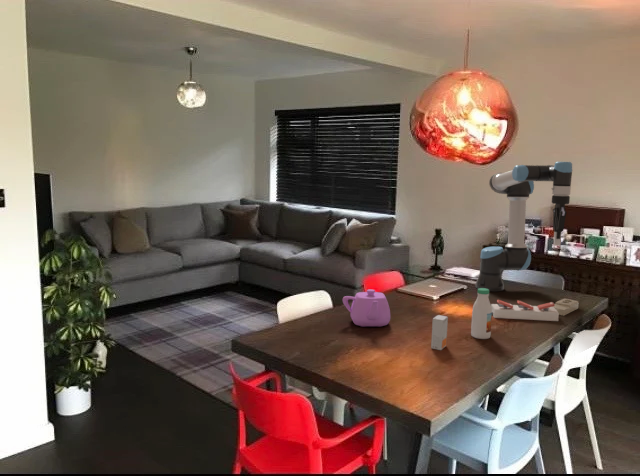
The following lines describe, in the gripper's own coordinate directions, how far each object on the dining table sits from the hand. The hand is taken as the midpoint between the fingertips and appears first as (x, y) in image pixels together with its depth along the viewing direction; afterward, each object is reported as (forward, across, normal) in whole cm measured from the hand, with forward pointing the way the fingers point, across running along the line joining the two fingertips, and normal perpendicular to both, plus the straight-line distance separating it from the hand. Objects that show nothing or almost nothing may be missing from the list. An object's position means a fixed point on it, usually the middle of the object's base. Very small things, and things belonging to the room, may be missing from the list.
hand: (556, 245), depth 248 cm
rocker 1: (+26, +12, -24) cm, 37 cm away
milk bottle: (+33, +42, -39) cm, 66 cm away
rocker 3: (+26, +12, -6) cm, 29 cm away
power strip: (+32, +10, -19) cm, 39 cm away
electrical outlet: (+33, -4, +7) cm, 34 cm away
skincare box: (+33, +58, -57) cm, 88 cm away
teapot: (+33, +34, -85) cm, 97 cm away
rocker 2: (+26, +12, -15) cm, 32 cm away
